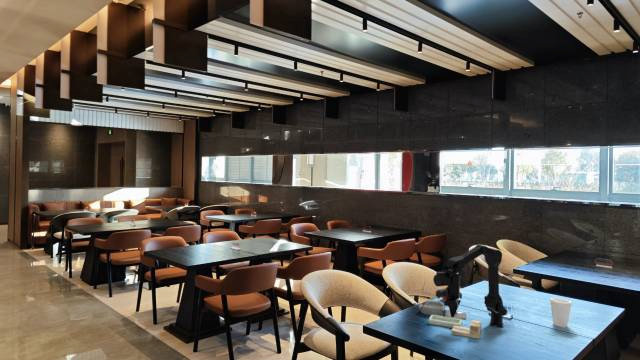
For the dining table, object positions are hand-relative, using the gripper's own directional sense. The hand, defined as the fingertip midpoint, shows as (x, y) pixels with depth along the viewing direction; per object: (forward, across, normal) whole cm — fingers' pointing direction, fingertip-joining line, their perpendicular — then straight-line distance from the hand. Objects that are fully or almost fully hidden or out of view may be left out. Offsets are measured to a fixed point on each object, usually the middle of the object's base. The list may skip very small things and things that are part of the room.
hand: (452, 316), depth 204 cm
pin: (-1, 0, +1) cm, 1 cm away
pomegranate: (+8, -52, -9) cm, 53 cm away
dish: (+8, -24, -14) cm, 29 cm away
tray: (+7, -9, -5) cm, 13 cm away
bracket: (+8, 0, +6) cm, 10 cm away
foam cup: (+8, -37, +49) cm, 62 cm away
